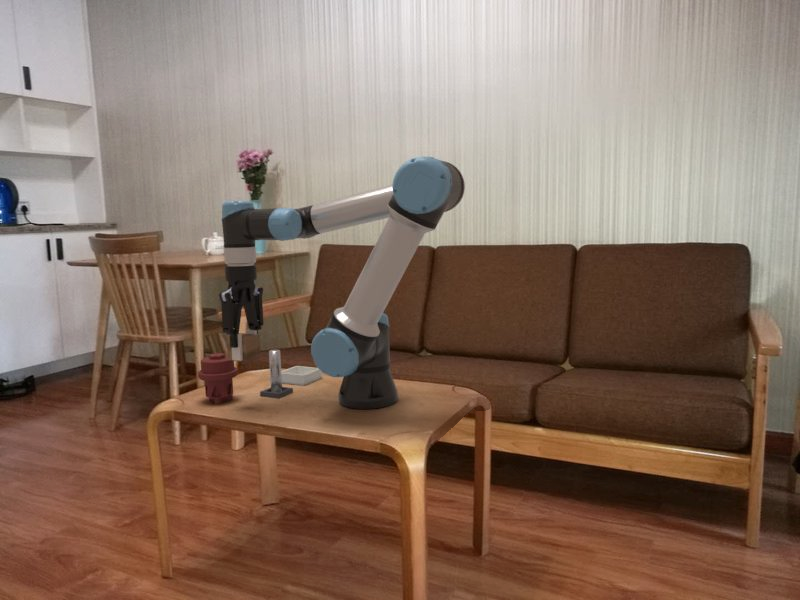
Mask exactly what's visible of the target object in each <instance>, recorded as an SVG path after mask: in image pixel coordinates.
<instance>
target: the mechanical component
mask: <svg viewBox="0 0 800 600" xmlns="http://www.w3.org/2000/svg"><path fill="white" fill-rule="evenodd" d="M238 375H239V370H238V368H237V367H235V361H232V360H228V354H225V353H222V352H219V353H218V352H217V353H212V354H209V355H208V356H206V357H203V358H202V359H201V360H200V369H199V371H198V372H197V376H198V379H200V380H201V381H204V389H205V390H204V392H205V398H207V399H208V398H209V401H213V402H214V404H215V405H220V404H222V403H224V402H226V401H231V400H233V399H234V397H233V396H234V382H233V378H236V377H237V376H238Z"/></svg>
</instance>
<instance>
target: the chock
mask: <svg viewBox="0 0 800 600" xmlns="http://www.w3.org/2000/svg"><path fill="white" fill-rule="evenodd" d="M239 334H241V335H242V355H243V360H242V361H239V362H240V363H249V362H253V361H256V360H259V359H261V341H260V340H261V339H260V334H258V335H256V334H247V332H239ZM226 338H227V339H226V341H227V343H226V344H227V346H226V347H227V355H228V360H232V348H231V346H230V335H227V336H226ZM232 361H234V362H238V361H237V360H232Z"/></svg>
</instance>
